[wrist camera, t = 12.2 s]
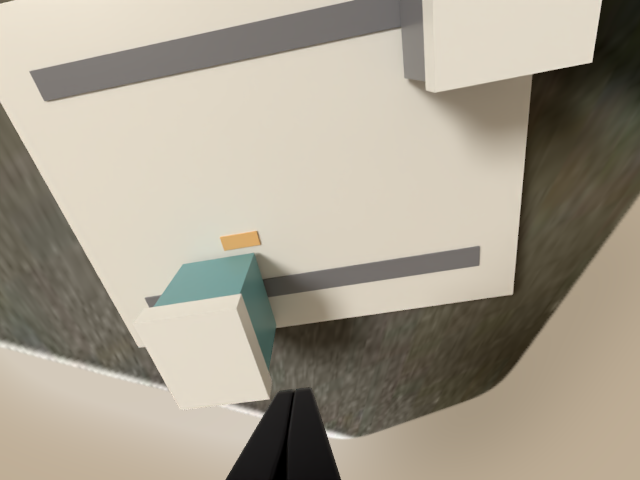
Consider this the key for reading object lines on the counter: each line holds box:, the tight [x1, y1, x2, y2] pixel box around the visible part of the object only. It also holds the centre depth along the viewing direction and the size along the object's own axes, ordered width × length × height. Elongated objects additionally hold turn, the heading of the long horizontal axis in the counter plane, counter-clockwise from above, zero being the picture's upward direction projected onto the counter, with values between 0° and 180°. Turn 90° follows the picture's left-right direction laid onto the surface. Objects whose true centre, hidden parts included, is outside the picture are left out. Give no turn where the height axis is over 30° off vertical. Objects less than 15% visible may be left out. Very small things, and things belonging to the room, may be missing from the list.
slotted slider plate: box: [0, 0, 532, 347], centre depth 18 cm, size 23×18×2 cm
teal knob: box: [133, 253, 276, 410], centre depth 17 cm, size 4×5×5 cm
